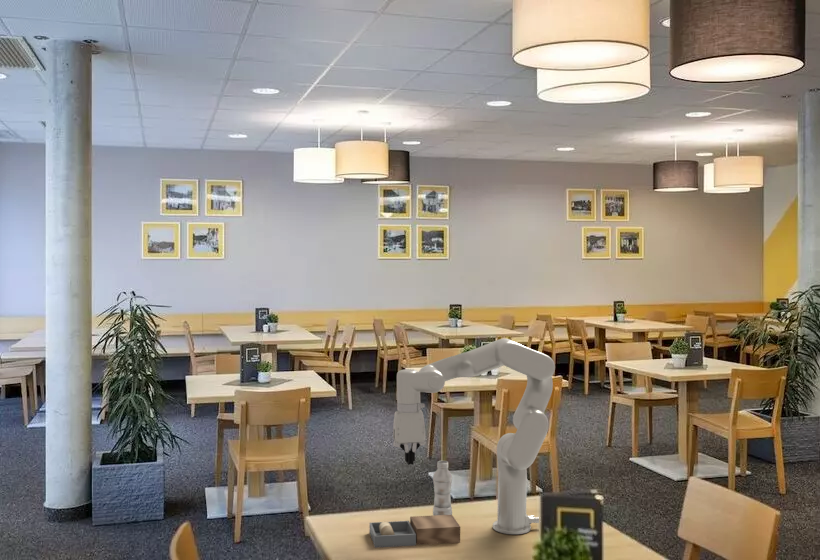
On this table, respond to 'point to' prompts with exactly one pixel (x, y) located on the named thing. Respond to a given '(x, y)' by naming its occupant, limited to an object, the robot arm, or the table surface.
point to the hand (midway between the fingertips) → (410, 463)
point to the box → (401, 537)
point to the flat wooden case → (435, 529)
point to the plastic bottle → (442, 489)
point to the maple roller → (386, 529)
